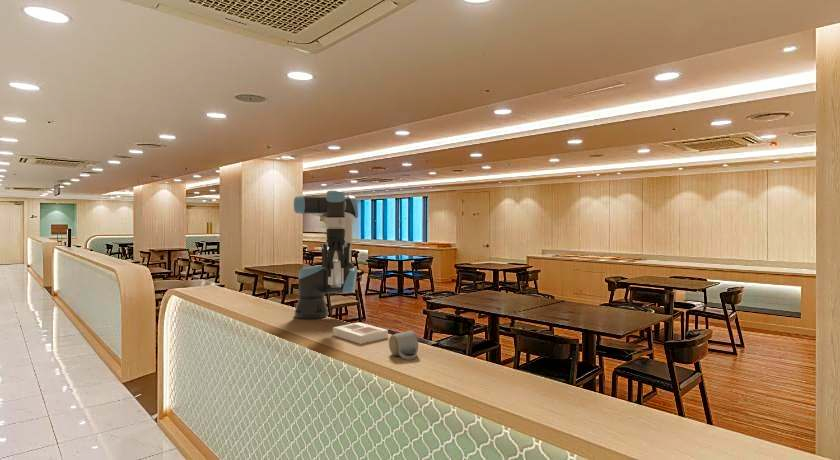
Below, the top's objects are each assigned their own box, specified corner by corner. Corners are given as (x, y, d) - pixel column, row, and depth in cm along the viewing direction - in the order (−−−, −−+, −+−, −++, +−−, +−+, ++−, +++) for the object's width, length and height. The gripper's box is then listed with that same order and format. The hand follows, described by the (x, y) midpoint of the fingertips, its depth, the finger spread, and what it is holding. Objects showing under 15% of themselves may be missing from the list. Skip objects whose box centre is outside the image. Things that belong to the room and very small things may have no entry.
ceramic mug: (387, 353, 157) (387, 330, 157) (409, 350, 161) (409, 328, 160) (400, 362, 148) (400, 338, 147) (423, 358, 151) (423, 335, 151)
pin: (331, 285, 194) (331, 259, 194) (342, 286, 194) (342, 259, 194) (329, 287, 190) (329, 260, 189) (340, 287, 190) (340, 261, 189)
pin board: (332, 335, 181) (332, 326, 181) (359, 329, 190) (359, 321, 190) (360, 344, 168) (360, 335, 168) (387, 337, 177) (388, 329, 177)
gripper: (322, 228, 182) (322, 287, 183) (358, 227, 194) (358, 282, 195) (312, 228, 188) (312, 285, 188) (347, 227, 200) (347, 281, 201)
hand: (335, 283), depth 192 cm, fingers closed on pin, 4 cm apart
